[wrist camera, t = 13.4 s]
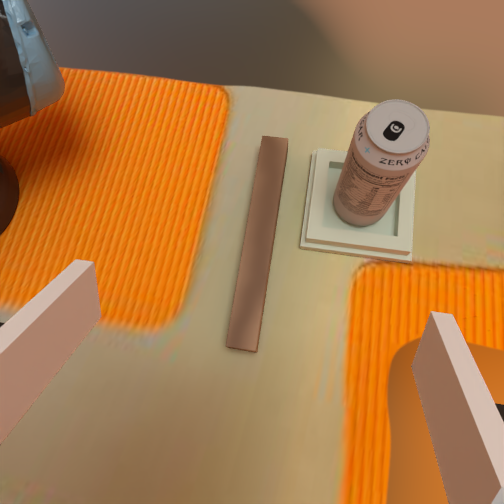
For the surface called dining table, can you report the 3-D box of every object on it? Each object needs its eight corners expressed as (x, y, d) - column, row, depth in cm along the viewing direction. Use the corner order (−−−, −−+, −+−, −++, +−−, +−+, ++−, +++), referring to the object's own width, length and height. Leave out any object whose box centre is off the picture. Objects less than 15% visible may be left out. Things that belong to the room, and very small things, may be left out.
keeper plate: (299, 248, 45) (301, 241, 43) (312, 155, 49) (313, 143, 46) (408, 263, 44) (416, 257, 42) (413, 166, 47) (420, 155, 45)
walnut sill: (229, 347, 43) (225, 346, 40) (263, 149, 49) (262, 135, 46) (256, 352, 42) (255, 350, 39) (287, 152, 49) (288, 138, 46)
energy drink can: (396, 199, 45) (452, 118, 31) (366, 239, 44) (410, 174, 30) (351, 170, 47) (386, 80, 32) (321, 208, 45) (342, 132, 31)
